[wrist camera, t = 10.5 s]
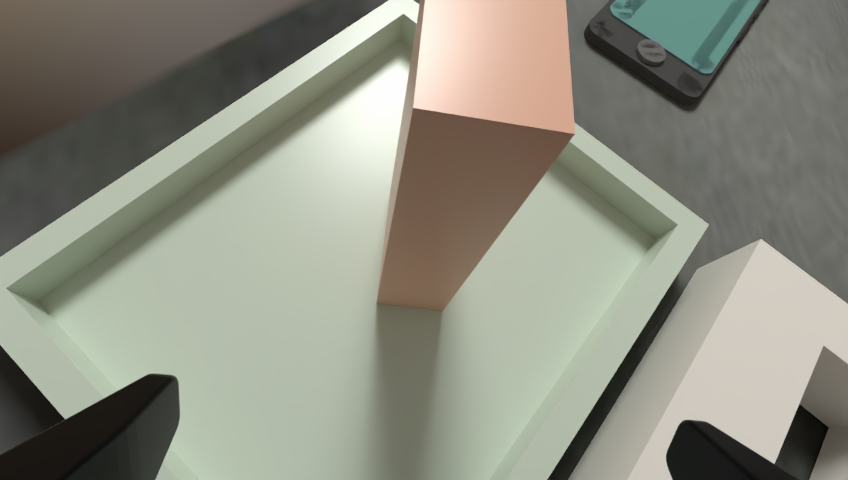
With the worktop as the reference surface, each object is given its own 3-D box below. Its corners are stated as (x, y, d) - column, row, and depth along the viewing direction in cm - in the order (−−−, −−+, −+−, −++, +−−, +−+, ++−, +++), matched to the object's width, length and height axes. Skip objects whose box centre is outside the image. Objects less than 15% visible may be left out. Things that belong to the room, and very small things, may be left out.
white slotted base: (832, 761, 14) (1030, 896, 10) (554, 501, 16) (625, 525, 12) (920, 443, 19) (1079, 446, 15) (696, 269, 20) (783, 228, 16)
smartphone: (586, 23, 25) (692, -89, 30) (576, 41, 26) (680, -70, 32) (702, 101, 24) (789, -30, 29) (686, 116, 25) (772, -13, 31)
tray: (363, 706, 13) (366, 764, 11) (9, 310, 16) (-49, 289, 13) (669, 247, 21) (708, 224, 18) (397, 34, 23) (402, -9, 21)
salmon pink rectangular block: (442, 311, 17) (575, 133, 7) (376, 303, 17) (413, 107, 7) (449, 194, 19) (560, -74, 9) (390, 186, 19) (435, -99, 9)
